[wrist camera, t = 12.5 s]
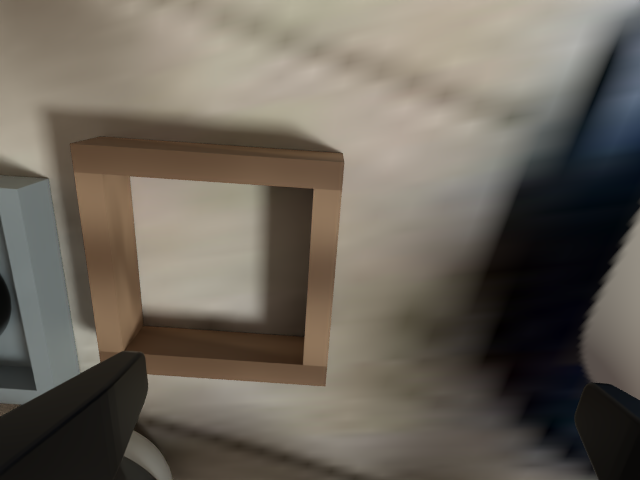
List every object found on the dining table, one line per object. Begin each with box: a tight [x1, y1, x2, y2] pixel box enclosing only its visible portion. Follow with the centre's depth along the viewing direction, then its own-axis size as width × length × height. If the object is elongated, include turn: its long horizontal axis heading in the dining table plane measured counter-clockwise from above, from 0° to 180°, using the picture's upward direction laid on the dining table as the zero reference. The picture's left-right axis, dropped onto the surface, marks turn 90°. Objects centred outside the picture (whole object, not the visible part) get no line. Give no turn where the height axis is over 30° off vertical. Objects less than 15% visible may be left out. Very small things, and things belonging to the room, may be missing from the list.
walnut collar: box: [70, 137, 344, 386], centre depth 21 cm, size 11×11×2 cm
